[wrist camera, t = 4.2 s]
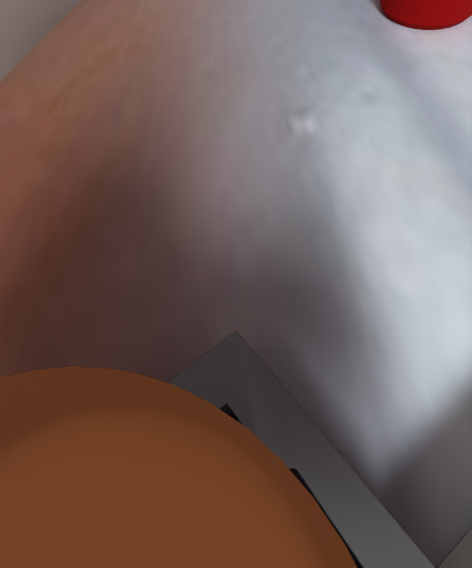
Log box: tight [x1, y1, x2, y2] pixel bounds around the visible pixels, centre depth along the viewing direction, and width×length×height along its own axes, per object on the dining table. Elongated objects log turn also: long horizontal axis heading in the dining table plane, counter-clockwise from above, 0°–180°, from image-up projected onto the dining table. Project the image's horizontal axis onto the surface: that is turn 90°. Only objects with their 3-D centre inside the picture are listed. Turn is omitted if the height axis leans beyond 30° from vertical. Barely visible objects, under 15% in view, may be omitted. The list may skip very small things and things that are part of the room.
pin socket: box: [168, 331, 434, 568], centre depth 12 cm, size 10×10×3 cm
